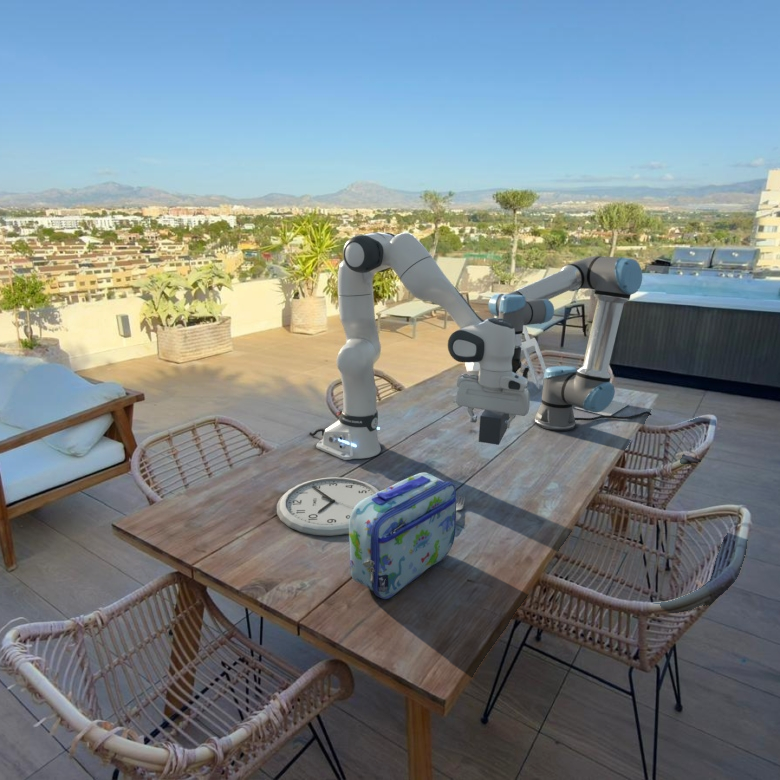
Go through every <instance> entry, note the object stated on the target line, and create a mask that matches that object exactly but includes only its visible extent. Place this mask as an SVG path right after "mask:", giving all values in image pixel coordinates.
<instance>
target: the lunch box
mask: <svg viewBox="0 0 780 780" xmlns="http://www.w3.org/2000/svg"><path fill="white" fill-rule="evenodd" d="M456 497H457V489H456V486H455V484H454V483H453V482H452V481H445V480H442V479H440V478H439V477H436V476H434V475H433V474H431V473H429V472H426V471H425V472H424V471H423V472H419V473H416V474H413V475H411V476H409V477H407V478H405V479H403V480H401V481H400V480H399V481H398V482H396V483H395V484H392V485H390V486H388V487H385V488H383V489H382V490H380V492H378V493H376V494H374V495H372V496H370V497H367V498H365V499H363V500H362V501H360V502H359V503H358V504H357V505H356V506H355V507H354V509H353V511H352V513H351V515H350V520H349V534H348V542H349V543H348V544H349V568H350V575H351V577H352V579H353V581H355V582H356V583H359V584H361V585H362V586H364V587H366V588H367V589H369V590H370V591H372V592H373V593H374V595H375V596H377V597H378V598H380V599H384V600H387V599H390V598H392V597H394V596H395V595H396V594H397V593H398V592H400V591H401V590H403V589H404V588H405V587H406V586H407V585H410V584H411V583H412V582H413V581H414V580H416V579H417V578H418V577H419V576H421V575H422V574H423V573H425V571H427V570H428V569H429V568H431V567H433V566H435V565H436V564H438V563H439V562H441V561H442V560H443V559H445V558H446V557H447V556H448V554H449V552H450V551H451V550H452V547H453V545H454V542H455V539H456V538H455V536H456V526H457V525H456V524H457V511H456V504H457V501H456Z"/></svg>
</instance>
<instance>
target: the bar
mask: <svg viewBox="0 0 780 780" xmlns="http://www.w3.org/2000/svg"><path fill="white" fill-rule="evenodd" d="M509 419H510V417H509V414H508V413H502V412H495V411H489V410H484V411H483V412H482V413H481V414H480V417H479V431H478V442H479V443H484V444H490V445H497V446H499V445H500V444H501V442H502V440H503V437H504V436H505V434H506V432H507V430H508V428H504V421H505V420H509Z"/></svg>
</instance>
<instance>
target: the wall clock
mask: <svg viewBox="0 0 780 780" xmlns="http://www.w3.org/2000/svg"><path fill="white" fill-rule="evenodd" d="M380 491H381V490H380V489H379V488H377V487H376V486H374V485H372V484H371V483H369V482H365V481H362V480H359V479H355V478H349V477H338V476H337V477H335V476H333V477H332V476H331V477H322V478H317V479H312V480H307V481H305V482H302V483H299V484H297V485H295V486H293V487H292V488H290V489H288V490H287V491H286V492H285V493H284V494H283V495H281V496H280V498H279V499H278V502H277V503H276V515H277V517H278V518H279V520H280V521H281V522H282V523H283V524H285V525H286V526H287V527H288V528H290V529H293V530H295V531H297V532H299V533H303V534H308V535H312V536H327V537H328V536H329V537H331V536H332V537H333V536H342V535H349V520H350V515H351V513H352V511H353V509H354V507H355V506H356V505H357V504H358V503H359V502H360V501H362V500H363V499H365V498H367V497H370V496H372V495H374V494H376V493H378V492H380Z"/></svg>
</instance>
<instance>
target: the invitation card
mask: <svg viewBox="0 0 780 780" xmlns="http://www.w3.org/2000/svg"><path fill="white" fill-rule="evenodd" d="M628 406H629V404H627V403H623V402H618V401H614V400H612V401H611V403H610V404H609V406H608V407H606V409H604V410H603V411H601V412H591V411H586V410H584V409H582V408H579V407H577V406H574V407H573V409H575V410H581V411H584V412H587V413H593V414H596V415H599V416H614V414H616V413H617V412H619V411H621V410H623V409H624V408H626V407H628Z"/></svg>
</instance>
